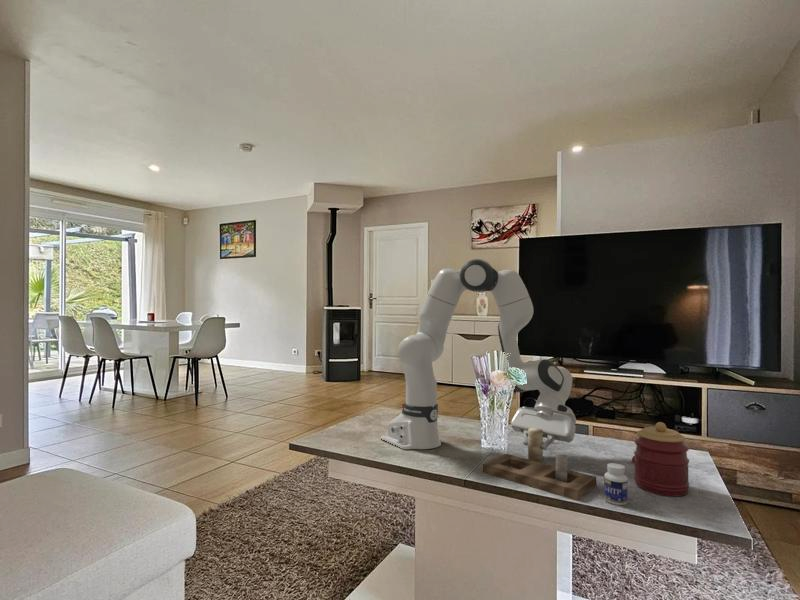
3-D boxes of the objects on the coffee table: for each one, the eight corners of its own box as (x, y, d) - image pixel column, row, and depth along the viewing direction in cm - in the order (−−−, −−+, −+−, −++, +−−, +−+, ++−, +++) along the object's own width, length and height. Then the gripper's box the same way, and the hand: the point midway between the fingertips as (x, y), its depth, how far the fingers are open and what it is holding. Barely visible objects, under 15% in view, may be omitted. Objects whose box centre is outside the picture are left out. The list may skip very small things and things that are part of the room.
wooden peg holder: (482, 472, 132) (482, 444, 132) (505, 461, 142) (505, 436, 142) (577, 500, 113) (577, 468, 113) (596, 486, 122) (596, 456, 123)
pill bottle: (600, 500, 113) (600, 465, 113) (608, 495, 117) (608, 460, 117) (623, 507, 109) (623, 470, 109) (630, 501, 113) (630, 465, 113)
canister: (695, 488, 121) (695, 423, 122) (680, 502, 113) (679, 431, 113) (644, 475, 131) (644, 414, 131) (626, 486, 122) (626, 421, 123)
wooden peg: (525, 461, 141) (525, 429, 142) (532, 458, 145) (532, 427, 145) (538, 465, 138) (538, 432, 139) (545, 461, 142) (545, 429, 142)
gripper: (516, 400, 154) (501, 434, 147) (575, 409, 140) (562, 448, 133) (522, 411, 157) (508, 445, 150) (581, 421, 143) (568, 459, 136)
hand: (534, 446), depth 141 cm, fingers closed on wooden peg, 4 cm apart
